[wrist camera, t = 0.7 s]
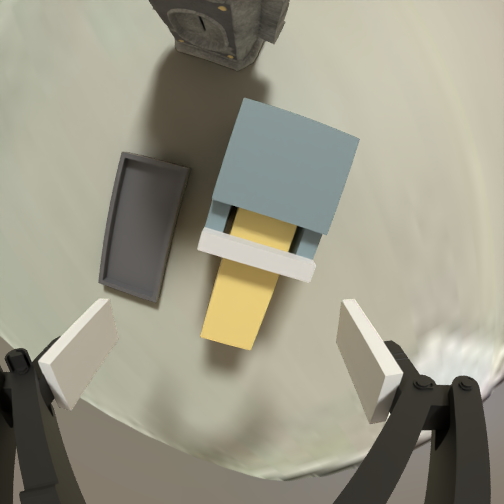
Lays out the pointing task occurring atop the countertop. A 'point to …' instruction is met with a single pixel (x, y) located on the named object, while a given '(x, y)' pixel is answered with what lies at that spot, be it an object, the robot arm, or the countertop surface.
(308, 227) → the dispenser
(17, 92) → the countertop surface
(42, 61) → the countertop surface
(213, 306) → the yellow tall slab
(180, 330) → the countertop surface
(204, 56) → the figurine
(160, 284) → the tray
